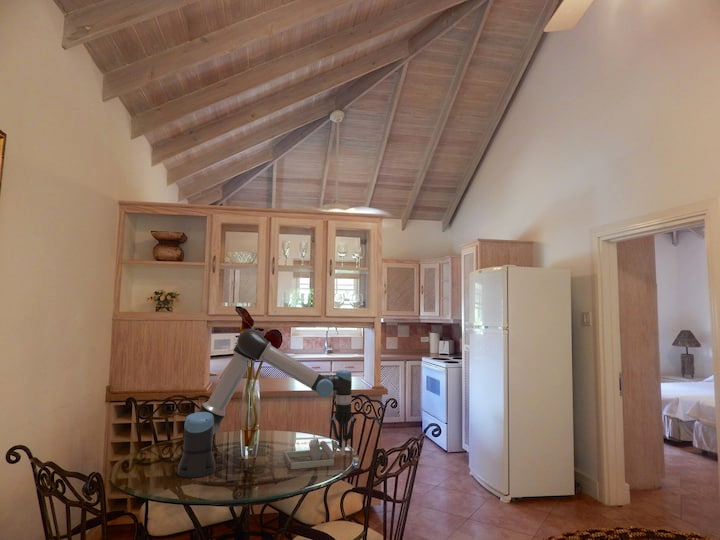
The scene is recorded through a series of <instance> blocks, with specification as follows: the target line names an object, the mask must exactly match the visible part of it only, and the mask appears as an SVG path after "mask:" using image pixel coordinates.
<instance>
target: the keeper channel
mask: <svg viewBox="0 0 720 540" xmlns="http://www.w3.org/2000/svg"><path fill="white" fill-rule="evenodd" d="M320 450H321V456H323V455H324V456H325V455H326V453H325V452H324V451H323V449H322V448H320ZM297 457H298V458H300V457H311V453H310V449H306V450H305V449H304V450H294V451H293V450H292V451H286V450H283V459H284V461H285V464H286V466H287V468H288V469H289V470H298V469H299V470H300V469H308V468H309V469H310V468H321V466H322V467H330V466H335V459H334V458H333V459H329V458H328V459H320V460H317V461H312V460H308V461H307V460H306V461H298V462H296V461H295V462H292V461H291V458H297Z"/></svg>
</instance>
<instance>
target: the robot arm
mask: <svg viewBox="0 0 720 540" xmlns="http://www.w3.org/2000/svg"><path fill="white" fill-rule="evenodd" d="M255 329H256V328H250V329H249V328H248V329H246V330H243V331H242V332H241V333H239V335H238V337H237V340H236V341H237V342H236V344H235V346H234V348H233V349H232V351H233V356H232V358H231V360H230V361H229V363H228V365H227V367H226V369H225V371H224V372H223V374H222V376H221V377H220V378H219V381H218V383H217V384H216V387H215V388H214V390H213V391H212V393H211V394H210V397H209V398H208V400H207V401H206V402H203V403H202V404H201V406H200V408H199V410H198V411H197V412H196V411H195V412H194V413H190V414H189V415H187V416H186V417H185V420H184V423H183V424H184V426H183V427H184V428H183V429H184V430H183V432H184V433H183V447H182V449H183V450H182V452H183V453H182V455H181V456H182V457H181V459H180V461H179V463H178V466H177V476H179V477H180V478H181V477H182V478H189V479H191V478H201V477H206V476H209V475H211V474H213V473H215V472H216V467H217V465H216V460H215V457H214V453H213V439H214V435H215V434H216V433H217V431H218V430H220V427H221V423H222V422H223V420H224V418H225V416H226V410H225V409H226V407H227V406H228V404H229V402H230V401H231V398H233V396H234V393H235V392H236V390H237V388H238V386H239V384H240V383H241V381H242V379H243V378H244V376H245V374H246V372H247V370H248V369H249V366H250V365H251V364H252V363H255V362H256V361H258V362H261V361H263V362H264V363H265V364H268V365H270V366H271V367H273V368H274V369H276V370H278V371H280V372H281V373H283V374H285V375H286V376H288V377H290V378H291V379H293V380H295V381H297V382H298V383H301V384H302V385H303V386H305V387H306V388H309V389H311V391H312V392H316V393H317V394H318V395H319V396H320V397H324V398H326V397H329V396H330V395H332V393H333V392H335V403H336V404H335V414H334V417H332V418H329V421H330V423H331V425H332V426H331V427H332V431H333V436H334V440H336V441H338V449H340V455H341V456H344V457H345V455H346V448H347V447H348V442H349V440H350V439H352V435H353V430H354V427H355V423H356V422H357V418H356V417H354V416H353V414H352V385H353V383H352V382H353V380H352V379H353V378H352V372H351V371H350V370H347V369H346V370H345V369H343V370H337V371H336V373H335V374H320V373H318V372H317V371H315V370H313V369H312V368H310V367H308V366H306V365H305V364H304V363H302V362H300V361H298V360H296V359H295V358H294V357H291V356H290V355H288V354H287V353H285V352H283V351H281V350H279V349H278V348H276V347H275V346H273V345H272V343H271V341H269V340H268V339H266V337H265V338H264V336H265V334H264V333H263V332H262V331H261V330H259V329H257V330H255ZM251 359H252V363H251ZM247 360H248V363H247ZM247 364H248V367H247ZM336 421H337V423H338V430H337V425H336ZM349 422H350V424H349ZM348 426H349V427H348Z"/></svg>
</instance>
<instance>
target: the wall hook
mask: <svg viewBox="0 0 720 540" xmlns="http://www.w3.org/2000/svg"><path fill="white" fill-rule="evenodd" d="M308 446H309V447H308V449H309V450H310V453H311V456H310V457H311V461H317V460H321V459H322V455H321V450H320V449H323V451H324V452H325V455H326V456H327V458H328V460H329V459H334V458H335V457H336V454H335V453H334V451H333V450H332V449H331V448H330V446H329V445H328V443H327V442H326V441H325V440H322V441H319V439H318V438H315V439H311V440H310V441H309V442H308Z"/></svg>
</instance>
